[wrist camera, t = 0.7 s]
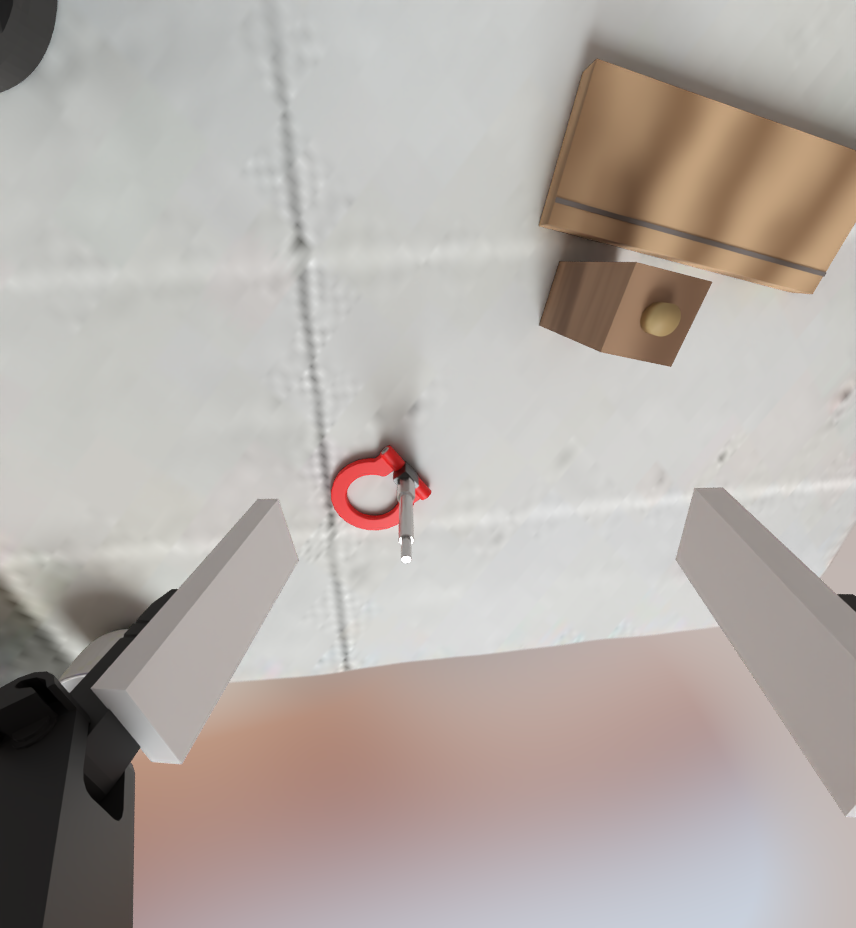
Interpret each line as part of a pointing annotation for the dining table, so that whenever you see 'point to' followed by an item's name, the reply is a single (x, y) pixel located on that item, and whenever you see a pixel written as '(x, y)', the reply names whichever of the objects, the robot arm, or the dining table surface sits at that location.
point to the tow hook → (407, 495)
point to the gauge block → (624, 308)
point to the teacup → (89, 659)
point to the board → (700, 182)
